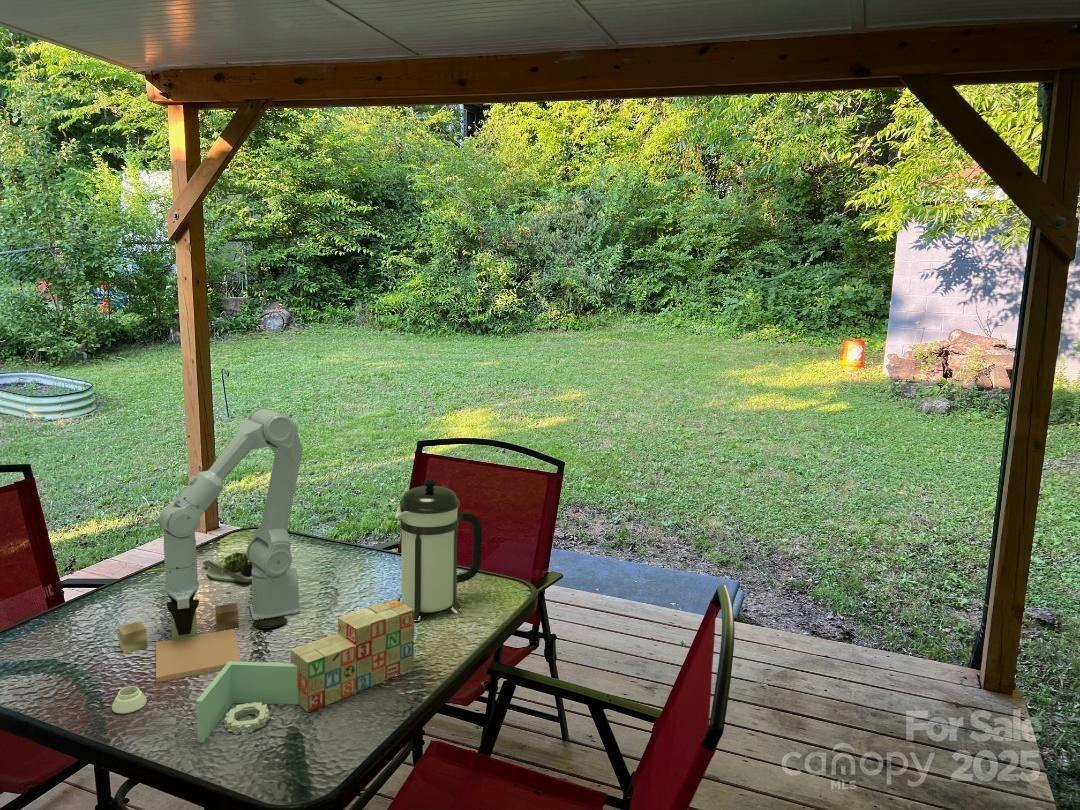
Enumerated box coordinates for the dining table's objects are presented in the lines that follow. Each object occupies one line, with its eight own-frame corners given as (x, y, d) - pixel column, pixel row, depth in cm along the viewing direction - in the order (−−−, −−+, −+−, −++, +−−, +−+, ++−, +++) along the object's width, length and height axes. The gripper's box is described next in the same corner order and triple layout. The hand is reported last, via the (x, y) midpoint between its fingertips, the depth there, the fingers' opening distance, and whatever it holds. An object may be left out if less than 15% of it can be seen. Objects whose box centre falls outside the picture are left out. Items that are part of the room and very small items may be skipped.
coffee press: (448, 630, 153) (450, 491, 148) (381, 616, 158) (381, 482, 153) (481, 597, 169) (484, 471, 164) (420, 586, 174) (420, 464, 169)
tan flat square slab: (234, 633, 148) (234, 628, 148) (240, 666, 136) (240, 661, 136) (156, 647, 142) (156, 642, 141) (156, 682, 129) (155, 677, 129)
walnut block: (236, 620, 154) (236, 602, 153) (238, 628, 150) (237, 610, 150) (216, 624, 152) (215, 606, 151) (217, 632, 148) (216, 614, 148)
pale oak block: (141, 640, 144) (140, 621, 144) (147, 647, 141) (146, 628, 141) (119, 646, 142) (117, 627, 141) (124, 654, 139) (123, 634, 138)
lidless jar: (153, 700, 124) (127, 697, 125) (152, 684, 124) (126, 681, 125) (132, 717, 119) (105, 713, 120) (131, 701, 119) (104, 697, 120)
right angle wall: (198, 745, 114) (196, 701, 112) (230, 701, 125) (228, 661, 124) (275, 747, 114) (273, 703, 112) (300, 704, 125) (299, 663, 124)
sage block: (196, 628, 150) (195, 601, 148) (197, 638, 146) (196, 610, 145) (171, 633, 147) (170, 605, 146) (172, 642, 144) (170, 614, 143)
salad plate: (182, 581, 173) (181, 563, 172) (227, 554, 190) (226, 538, 189) (256, 590, 169) (255, 571, 169) (295, 562, 187) (295, 545, 186)
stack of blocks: (307, 714, 122) (306, 645, 120) (290, 698, 126) (288, 632, 124) (414, 670, 137) (414, 608, 135) (395, 657, 141) (395, 597, 139)
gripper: (158, 553, 149) (161, 616, 151) (158, 580, 136) (161, 648, 138) (196, 549, 152) (199, 610, 154) (199, 574, 139) (202, 641, 141)
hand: (184, 627), depth 146 cm, fingers open, 5 cm apart
